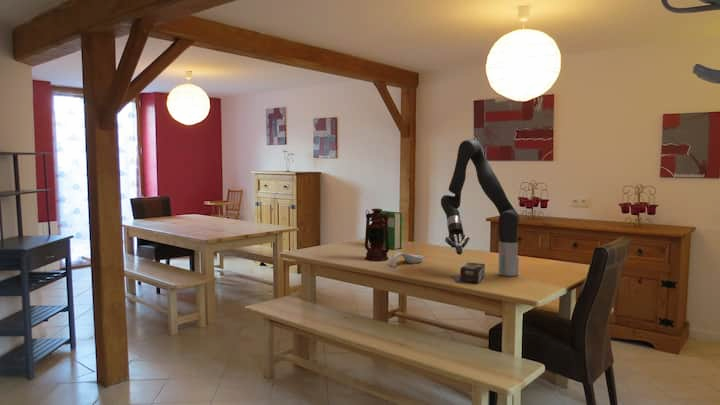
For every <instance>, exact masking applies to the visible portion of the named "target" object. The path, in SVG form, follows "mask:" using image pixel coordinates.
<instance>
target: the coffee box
mask: <svg viewBox="0 0 720 405" xmlns="http://www.w3.org/2000/svg"><path fill="white" fill-rule="evenodd" d="M485 270H486V265H485V263H482V262H481V263H479V262H472V261H471V262H469V261H467V262H466V263H465V264H464V265H463V266H462V267H460V271H459V272H460V274H459V275H460V281H468V282H467V283H480V282H479V281H481V280H482V279H483V278H484V277H485Z"/></svg>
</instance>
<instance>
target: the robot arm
mask: <svg viewBox="0 0 720 405" xmlns="http://www.w3.org/2000/svg"><path fill="white" fill-rule="evenodd" d="M470 160H471V162H472V164H473V165H474V167H475V171H476V177H477V182H478V183H479V185H480V187H481V189H482V191H483V192H484V194H485V195H486V196H487V198H488V199H489V200H490V202H491V203H492V204H494V206H495V208H496V209H497V212H498V214H499V217H498V224H497V225H498V226H497V228H498V266H497V267H498V269H497V271H498V275H500V276H504V277H515V276H519V260H520V259H519V256H518V252H519V250H518V246H519V244H518V243H519V242H518V241H519V237H518V225H519V222H520V215H519V214H518V212H517V211H516V209H515V208H514V206H513V205H512V204H511V202H510V200H509V198H508V197H507V195H506V192H505V190H504V188H503V186H502V185H501V183H500V181H499V179H498V177H497V176H496V174H495V172H494V170H493V169H492V167H491V165H490V164H489V162H488V159H487V158H486V156H485V154H484V151H483V149H482V146H481V144H480V143H479V142H478V141H477V140H476V139H473V138H472V139H465V140H463V141H461V143H459V146H458V150H457V157H456V162H455V166H454V170H453V173H452V177H451V179H450V183H449V186H448V191H449V192H450V193H452V194H454V196H453V195H448V194H445V195H442V196H441V199H440V206H441V209H442V210H443V212H444V213H445V215H446V216H445V217H446V225H447V226H446V227H447V229H448V230H447V231H448V236H446V237H445V238H444V239H445V242H446V244H448V245H449V246H450V248H452V249H453V248H454V249H455V252H456V254H457V255H459V256H460V255H462V254H463V248H465V247H466V246H467V244H468V243H469V241H470V237H469V236H466V235H465V233H464V227H463V223H462V219H461V216H460V211H459V210H458V208H460V206H461V202H462V201H461V199H462V198H461V196H462V190H463V188H464V184H465V181H466V177H467V176H466V174H467V167H468V163H469V162H470Z"/></svg>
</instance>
